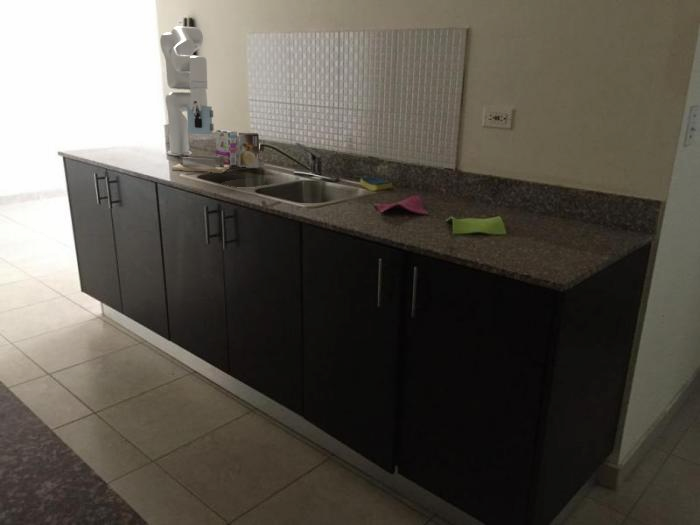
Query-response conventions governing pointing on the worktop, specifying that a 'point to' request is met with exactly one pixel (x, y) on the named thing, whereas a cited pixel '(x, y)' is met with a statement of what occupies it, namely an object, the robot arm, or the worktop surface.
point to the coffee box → (249, 150)
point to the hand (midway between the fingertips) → (200, 126)
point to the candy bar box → (227, 146)
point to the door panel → (206, 121)
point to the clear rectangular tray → (202, 163)
